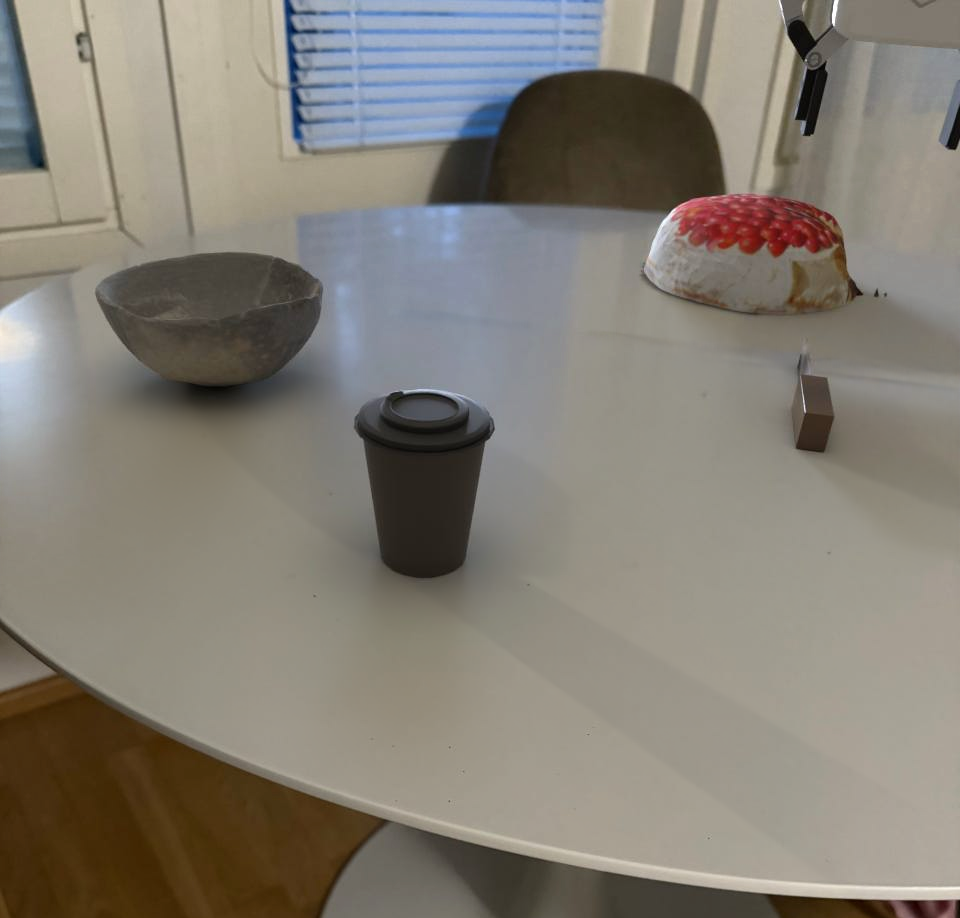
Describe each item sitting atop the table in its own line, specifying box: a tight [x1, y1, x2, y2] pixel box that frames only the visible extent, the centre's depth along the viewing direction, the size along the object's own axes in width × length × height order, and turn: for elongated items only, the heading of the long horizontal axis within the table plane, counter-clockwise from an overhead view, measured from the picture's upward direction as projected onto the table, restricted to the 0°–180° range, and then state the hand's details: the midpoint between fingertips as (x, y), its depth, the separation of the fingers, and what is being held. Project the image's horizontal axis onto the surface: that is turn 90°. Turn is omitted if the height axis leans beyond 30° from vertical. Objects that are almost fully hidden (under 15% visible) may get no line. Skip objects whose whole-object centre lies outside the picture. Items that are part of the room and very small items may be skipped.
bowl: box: [94, 251, 324, 387], centre depth 79 cm, size 18×18×8 cm
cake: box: [643, 193, 888, 316], centre depth 102 cm, size 23×24×10 cm
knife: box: [791, 338, 835, 453], centre depth 81 cm, size 18×2×3 cm, turn 168°
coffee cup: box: [353, 388, 496, 578], centre depth 57 cm, size 8×8×10 cm
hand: (875, 139), depth 67 cm, fingers open, 9 cm apart
